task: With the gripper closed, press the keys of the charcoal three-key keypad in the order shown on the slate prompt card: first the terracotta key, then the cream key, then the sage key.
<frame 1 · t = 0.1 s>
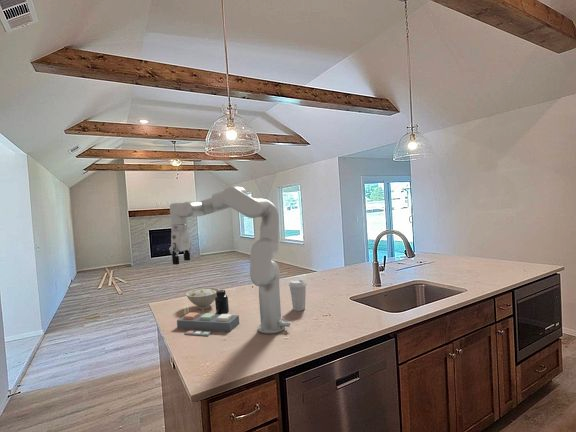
hand: (181, 262, 158), 31 cm above the worktop, tool pointing down, fingers open, 9 cm apart
coffee cup: (299, 309, 172), on the worktop
supplement bottle: (222, 313, 173), on the worktop
prompt card: (198, 333, 146), on the worktop
terracotta key: (191, 317, 157), point 4 cm above the worktop, slide at 0.0 cm
keypad: (208, 325, 155), on the worktop
sage key: (208, 318, 155), point 4 cm above the worktop, slide at 0.0 cm
bowl: (204, 307, 185), on the worktop
cream key: (224, 319, 152), point 4 cm above the worktop, slide at 0.0 cm
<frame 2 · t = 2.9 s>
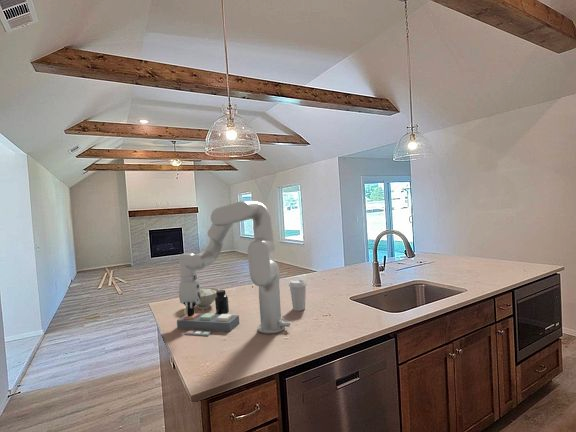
hand: (191, 315, 157), 5 cm above the worktop, tool pointing down, fingers closed
terracotta key: (191, 318, 157), point 3 cm above the worktop, slide at 0.4 cm, touching gripper
everything else where it was.
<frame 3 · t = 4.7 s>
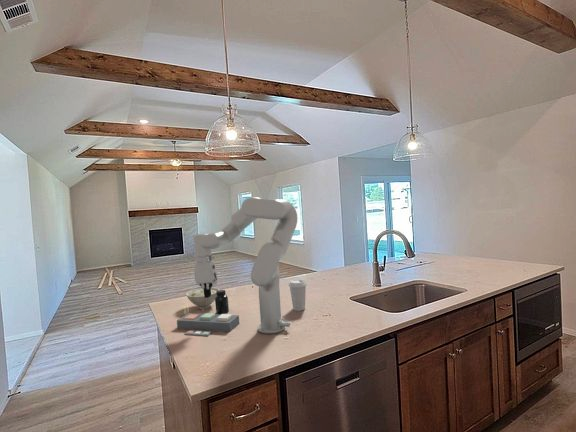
hand: (207, 296, 154), 14 cm above the worktop, tool pointing down, fingers closed
terracotta key: (191, 319, 157), point 3 cm above the worktop, slide at 1.0 cm
everything else where it was.
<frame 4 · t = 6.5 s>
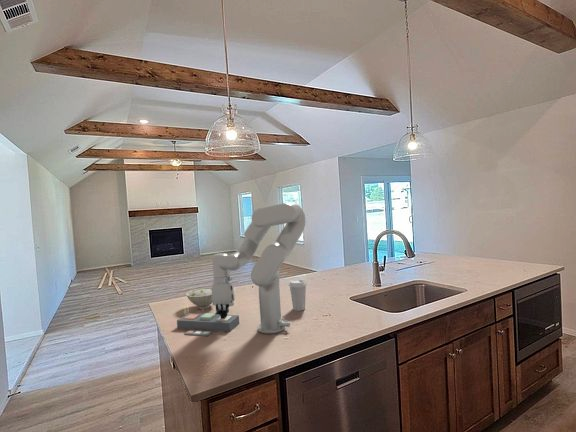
hand: (223, 317, 152), 5 cm above the worktop, tool pointing down, fingers closed
cream key: (224, 320, 152), point 3 cm above the worktop, slide at 0.8 cm, touching gripper
everything else where it was.
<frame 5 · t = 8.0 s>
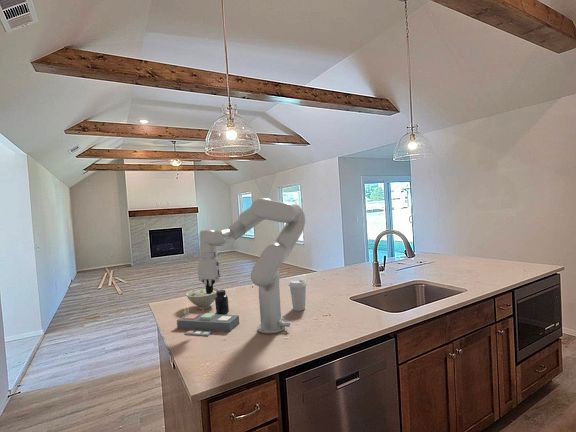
hand: (209, 293, 154), 16 cm above the worktop, tool pointing down, fingers closed
cream key: (224, 321, 152), point 3 cm above the worktop, slide at 1.0 cm
everything else where it was.
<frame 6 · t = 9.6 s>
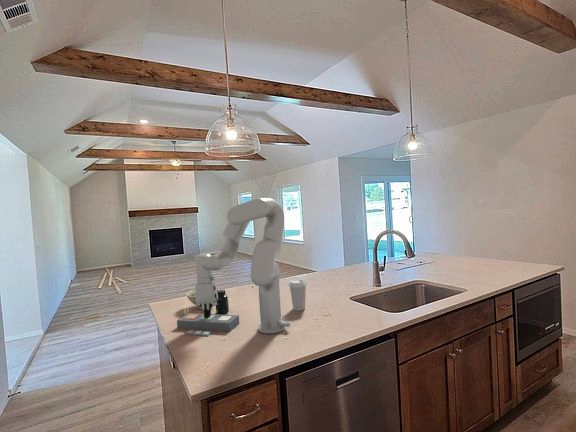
hand: (207, 317, 155), 4 cm above the worktop, tool pointing down, fingers closed
sage key: (208, 320, 155), point 3 cm above the worktop, slide at 1.0 cm, touching gripper
everything else where it was.
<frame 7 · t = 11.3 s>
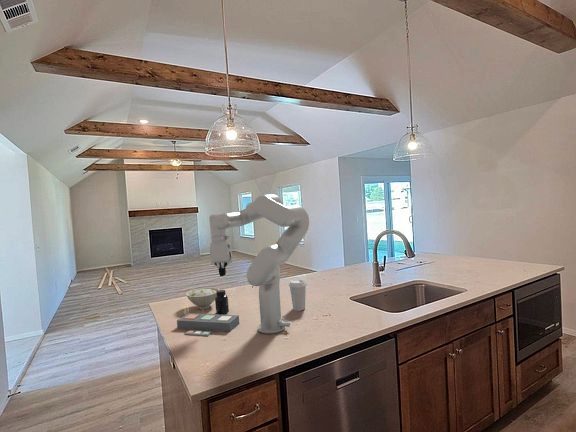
hand: (222, 275, 159), 23 cm above the worktop, tool pointing down, fingers closed
sage key: (208, 320, 155), point 3 cm above the worktop, slide at 1.0 cm
everything else where it was.
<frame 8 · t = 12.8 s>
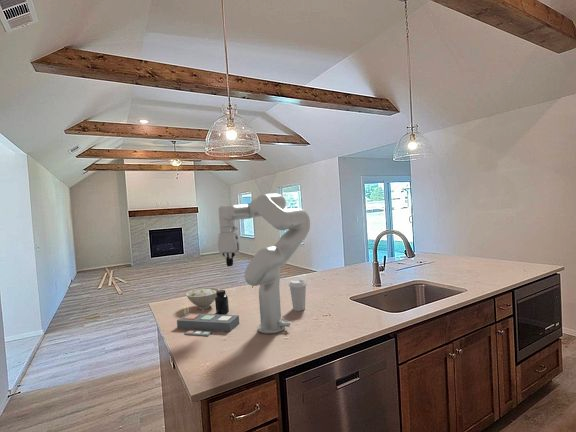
hand: (230, 265, 162), 27 cm above the worktop, tool pointing down, fingers closed
nothing on the worktop moved.
at the end: terracotta key slide at 1.0 cm; cream key slide at 1.0 cm; sage key slide at 1.0 cm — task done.
